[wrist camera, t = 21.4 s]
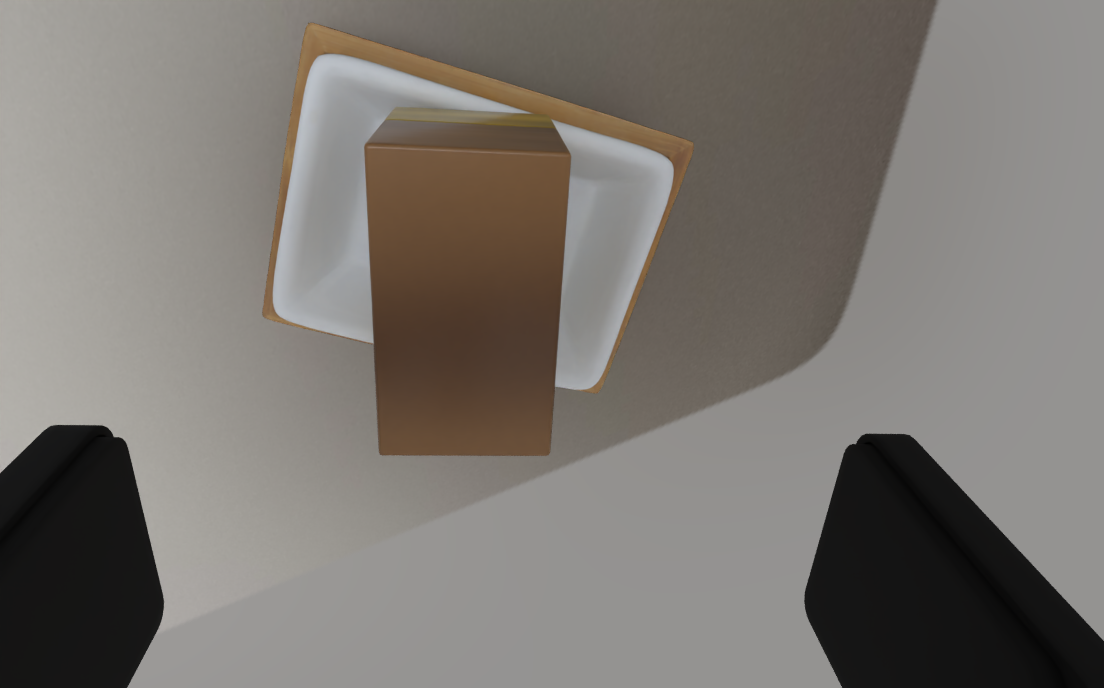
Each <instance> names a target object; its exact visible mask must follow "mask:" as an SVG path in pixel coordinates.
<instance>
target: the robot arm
mask: <svg viewBox="0 0 1104 688" xmlns="http://www.w3.org/2000/svg"><path fill="white" fill-rule="evenodd" d="M804 602H805V610H806V614H807V617H808V619H809V622H810V624H811V626H812V628H813V630H814V632H815V634H816V636H817V638H818V640H819V642H820V644H821V646H822V648H823V650H824V652H825V654H826V656H827V658H828V660H829V662H830V664H831V666H832V668H833V670H834V672H835V674H836V676H837V678H838V680H839V682H840V684H841V686H842V688H1104V641H1103V640H1102V639H1101V638H1100V637H1099V636H1098V634H1096V632H1095V631H1094V630H1093V629H1092V628H1091V627H1090V626H1089V625H1088V624H1087V623H1086V622H1085V621H1084V619H1083V618H1082V617H1081V616H1080V615H1079V614H1078V613H1077V612H1076V611H1075V610H1074V609H1073V608H1072V607H1071V606H1070V604H1068V602H1067V601H1066V600H1065V599H1064V598H1063V597H1062V596H1061V595H1060V594H1059V593H1058V592H1057V591H1056V590H1055V589H1054V587H1053V586H1051V584H1050V583H1049V582H1048V581H1047V580H1046V579H1045V578H1044V577H1043V576H1042V575H1041V574H1040V572H1039V571H1038V570H1037V569H1036V568H1035V567H1034V566H1033V565H1032V564H1031V563H1030V562H1029V561H1028V560H1027V559H1026V557H1025V556H1024V555H1023V554H1022V553H1021V552H1020V551H1019V550H1018V549H1017V548H1016V547H1015V546H1014V545H1013V544H1012V543H1011V542H1010V540H1009V539H1008V538H1007V537H1006V536H1005V535H1004V534H1003V533H1002V532H1001V531H1000V530H999V529H998V528H997V527H996V525H995V524H994V523H993V522H992V521H991V520H990V519H989V518H988V517H987V516H986V515H985V514H984V513H983V512H982V510H981V509H979V507H978V506H977V505H976V504H975V503H974V502H973V501H972V500H971V499H970V498H969V497H968V496H967V494H966V493H965V492H964V491H963V490H962V489H961V488H960V487H959V486H958V485H957V484H956V483H955V482H954V481H953V480H952V479H951V477H950V476H949V475H948V474H947V473H946V472H945V471H944V470H943V469H942V468H941V467H940V466H939V465H938V464H937V462H935V460H934V459H933V458H932V457H931V456H930V455H929V454H928V453H927V452H926V451H925V450H924V449H923V447H922V446H921V445H920V444H919V443H918V442H917V441H916V440H915V439H914V438H912V437H911V436H910V435H906V434H865V435H862V436H861V437H860V438H859V439H858V441H857V443H856V444H852V445H849V446H848V447H847V449H846V450H845V453H844V455H843V459H842V462H841V466H840V469H839V473H838V477H837V480H836V484H835V487H834V491H833V494H832V498H831V501H830V505H829V508H828V512H827V515H826V519H825V523H824V526H823V530H822V534H821V537H820V540H819V544H818V547H817V551H816V554H815V558H814V562H813V565H812V569H811V572H810V576H809V579H808V583H807V586H806V590H805V600H804ZM163 610H164V599H163V593H162V589H161V585H160V581H159V576H158V572H157V568H156V564H155V560H154V555H153V551H152V547H151V543H150V539H149V534H148V530H147V526H146V522H145V518H144V513H143V509H142V505H141V501H140V497H139V492H138V488H137V484H136V480H135V475H134V471H133V467H132V463H131V459H130V454H129V450H128V447H127V444H126V442H125V441H124V440H123V439H122V438H120V437H113V434H112V432H111V431H110V430H109V429H108V428H107V427H105V426H101V425H54V426H50V427H49V428H47V429H46V430H44V431H43V432H42V433H41V434H40V435H39V436H38V437H37V438H36V439H35V440H34V441H33V442H32V443H31V444H30V445H29V446H28V447H27V448H26V449H25V450H24V451H23V452H22V453H21V454H20V455H19V456H18V457H17V458H15V459H14V460H13V461H12V462H11V463H10V464H9V465H8V466H7V467H6V468H5V469H4V470H3V471H2V472H1V473H0V688H127V687H128V685H129V683H130V681H131V679H132V677H133V676H134V674H135V672H136V670H137V668H138V666H139V664H140V662H141V660H142V659H143V657H144V655H145V653H146V651H147V649H148V647H149V645H150V643H151V641H152V640H153V638H154V636H155V634H156V632H157V630H158V628H159V626H160V623H161V620H162V616H163Z"/></svg>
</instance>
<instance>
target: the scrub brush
mask: <svg viewBox="0 0 1104 688" xmlns="http://www.w3.org/2000/svg"><path fill="white" fill-rule="evenodd" d="M364 157H365V178H366V198H367V219H368V240H369V260H370V281H371V301H372V322H373V342H374V363H375V383H376V404H377V424H378V445H379V453H380V455H471V456H547V455H549V453H550V448H551V434H552V420H553V406H554V392H555V378H556V364H557V350H558V336H559V322H560V308H561V294H562V280H563V266H564V252H565V238H566V224H567V211H568V197H569V183H570V169H571V154H570V152H569V150H568V148H567V147H566V145H565V143H564V141H563V140H562V138H561V136H560V134H559V133H558V131H557V129H556V127H555V125H554V124H553V122H552V120H551V118H550V117H549V115H547V114H528V113H508V112H489V111H470V110H451V109H431V108H412V107H395V108H394V109H393V110H392V112H391V113H390V114H389V115H388V116H387V118H386V119H385V121H384V122H383V123H382V124H381V125H380V126H379V128H378V129H377V130H376V131H375V132H374V134H373V135H372V136H371V137H370V138H369V140H368V141H367V142H366V143H365V146H364Z"/></svg>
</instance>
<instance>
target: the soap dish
mask: <svg viewBox="0 0 1104 688" xmlns="http://www.w3.org/2000/svg"><path fill="white" fill-rule="evenodd" d="M395 107H412V108H431V109H451V110H470V111H489V112H508V113H528V114H547V115H549V117H550V118H551V120H552V122H553V124H554V125H555V127H556V129H557V131H558V133H559V134H560V136H561V138H562V140H563V141H564V143H565V145H566V147H567V148H568V150H569V152H570V154H571V169H570V183H569V197H568V211H567V224H566V238H565V252H564V266H563V280H562V294H561V308H560V322H559V336H558V350H557V364H556V378H555V386H556V387H561V388H567V389H575V390H579V391H584V392H589V393H598V392H599V391H600V389H601V387H602V386H603V384H604V381H605V379H606V376H607V374H608V372H609V369H610V367H611V364H612V361H613V359H614V356H615V354H616V352H617V350H618V347H619V344H620V341H621V339H622V336H623V333H624V331H625V329H626V326H627V324H628V321H629V318H630V316H631V313H632V311H633V308H634V306H635V303H636V300H637V298H638V295H639V293H640V291H641V288H642V285H643V283H644V279H645V277H646V275H647V272H648V269H649V267H650V264H651V261H652V259H653V256H654V254H655V251H656V249H657V246H658V243H659V240H660V237H661V235H662V232H663V230H664V227H665V224H666V222H667V219H668V217H669V214H670V211H671V209H672V206H673V204H674V201H675V198H676V196H677V193H678V191H679V188H680V186H681V183H682V181H683V178H684V175H685V172H686V169H687V166H688V164H689V162H690V159H691V156H692V153H693V149H694V143H693V142H691V141H689V140H686V139H683V138H680V137H677V136H673V135H670V134H667V133H664V132H661V131H657V130H654V129H651V128H648V127H645V126H642V125H639V124H636V123H633V122H629V121H626V120H623V119H620V118H617V117H614V116H611V115H608V114H605V113H601V112H598V111H595V110H592V109H588V108H586V107H581V106H579V105H576V104H573V103H570V102H567V101H563V100H560V99H557V98H554V97H551V96H547V95H544V94H541V93H538V92H534V91H531V90H528V89H524V88H521V87H519V86H515V85H512V84H509V83H505V82H502V81H499V80H496V79H493V78H489V77H486V76H483V75H480V74H476V73H473V72H470V71H467V70H464V69H460V68H457V67H454V66H451V65H448V64H444V63H441V62H438V61H434V60H431V59H428V58H425V57H422V56H418V55H415V54H412V53H409V52H405V51H402V50H399V49H396V48H393V47H389V46H386V45H383V44H380V43H376V42H373V41H370V40H367V39H363V38H360V37H357V36H354V35H351V34H348V33H344V32H341V31H338V30H335V29H332V28H329V27H325V26H322V25H319V24H315V23H308V25H307V27H306V30H305V34H304V38H303V43H302V49H301V55H300V62H299V69H298V74H297V80H296V85H295V91H294V97H293V104H292V111H291V114H290V123H289V128H288V134H287V143H286V148H285V155H284V160H283V170H282V177H281V183H280V192H279V199H278V206H277V213H276V221H275V227H274V233H273V234H274V235H273V241H272V249H271V254H270V262H269V270H268V275H267V281H266V289H265V297H264V306H263V312H262V314H263V317H265V318H267V319H269V320H272V321H276V322H280V323H284V324H288V325H292V326H296V327H300V328H304V329H308V330H313V331H317V332H322V333H327V334H331V335H334V336H339V337H343V338H347V339H351V340H355V341H360V342H364V343H369V344H374V342H373V322H372V301H371V281H370V260H369V240H368V219H367V198H366V178H365V157H364V146H365V143H366V142H367V141H368V140H369V138H370V137H371V136H372V135H373V134H374V132H375V131H376V130H377V129H378V128H379V126H380V125H381V124H382V123H383V122H384V121H385V119H386V118H387V116H388V115H389V114H390V113H391V112H392V110H393V109H394V108H395Z"/></svg>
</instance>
